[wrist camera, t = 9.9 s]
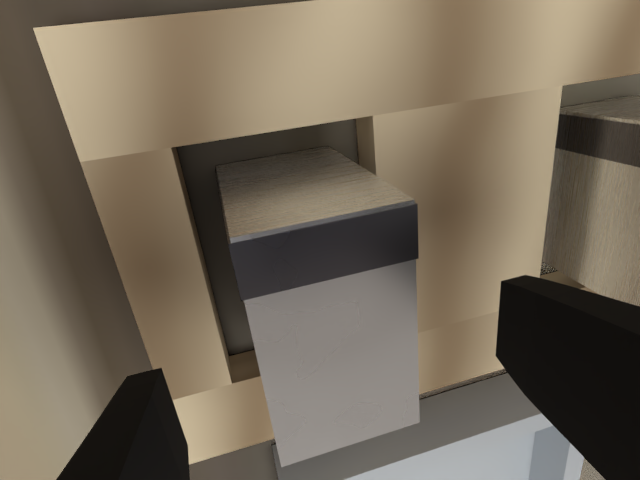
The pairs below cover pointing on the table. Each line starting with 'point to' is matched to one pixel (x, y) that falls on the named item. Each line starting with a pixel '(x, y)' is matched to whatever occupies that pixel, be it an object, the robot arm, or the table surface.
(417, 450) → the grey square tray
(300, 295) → the loose billet
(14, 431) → the table surface
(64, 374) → the table surface
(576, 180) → the block
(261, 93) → the wooden frame board
